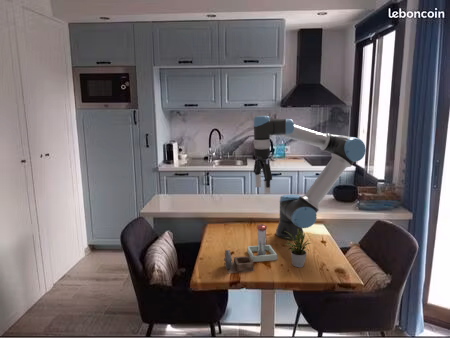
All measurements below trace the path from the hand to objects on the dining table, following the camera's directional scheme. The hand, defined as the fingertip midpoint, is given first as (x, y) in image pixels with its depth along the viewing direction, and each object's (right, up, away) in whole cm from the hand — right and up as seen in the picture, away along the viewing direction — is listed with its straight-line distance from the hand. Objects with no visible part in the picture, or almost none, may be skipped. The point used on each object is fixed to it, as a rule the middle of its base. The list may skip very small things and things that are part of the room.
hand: (262, 190), depth 169 cm
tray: (-1, -32, -6) cm, 33 cm away
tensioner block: (-13, -35, -17) cm, 41 cm away
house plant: (+14, -33, -12) cm, 38 cm away
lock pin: (-1, -31, -6) cm, 32 cm away
